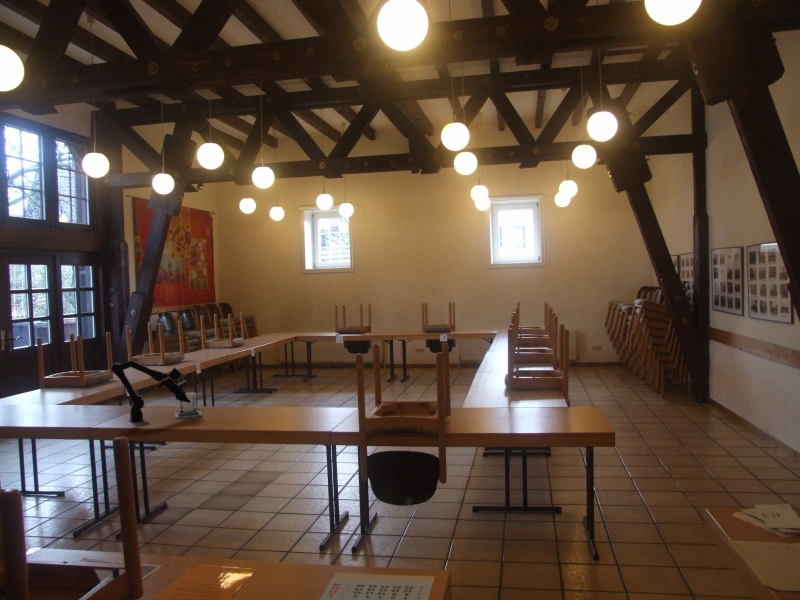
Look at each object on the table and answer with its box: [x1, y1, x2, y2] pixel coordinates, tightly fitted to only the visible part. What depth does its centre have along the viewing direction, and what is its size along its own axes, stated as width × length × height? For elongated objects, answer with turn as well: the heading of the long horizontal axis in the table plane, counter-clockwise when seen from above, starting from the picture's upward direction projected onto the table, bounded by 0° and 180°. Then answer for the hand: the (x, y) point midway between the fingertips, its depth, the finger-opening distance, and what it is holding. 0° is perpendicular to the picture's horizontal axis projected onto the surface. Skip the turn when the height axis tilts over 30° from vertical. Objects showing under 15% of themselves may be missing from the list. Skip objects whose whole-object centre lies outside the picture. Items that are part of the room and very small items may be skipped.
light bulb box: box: [179, 392, 198, 411], centre depth 397 cm, size 11×7×11 cm, turn 168°
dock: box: [174, 408, 203, 420], centre depth 377 cm, size 16×16×3 cm
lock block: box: [183, 392, 193, 413], centre depth 377 cm, size 6×6×12 cm
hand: (189, 401), depth 378 cm, fingers closed on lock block, 5 cm apart
